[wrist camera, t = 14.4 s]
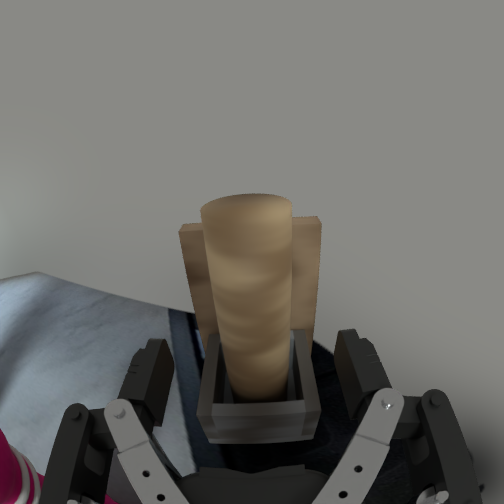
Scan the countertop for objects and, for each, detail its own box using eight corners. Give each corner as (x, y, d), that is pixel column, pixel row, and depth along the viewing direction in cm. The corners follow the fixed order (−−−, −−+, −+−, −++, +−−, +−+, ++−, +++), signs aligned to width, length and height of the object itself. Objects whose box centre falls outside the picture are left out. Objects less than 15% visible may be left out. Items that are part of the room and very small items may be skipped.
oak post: (232, 420, 18) (192, 224, 11) (234, 379, 22) (207, 196, 15) (289, 418, 18) (298, 217, 11) (284, 376, 22) (285, 191, 15)
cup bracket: (207, 457, 19) (134, 309, 11) (215, 376, 28) (183, 224, 20) (318, 453, 19) (366, 298, 11) (305, 372, 28) (316, 216, 20)
